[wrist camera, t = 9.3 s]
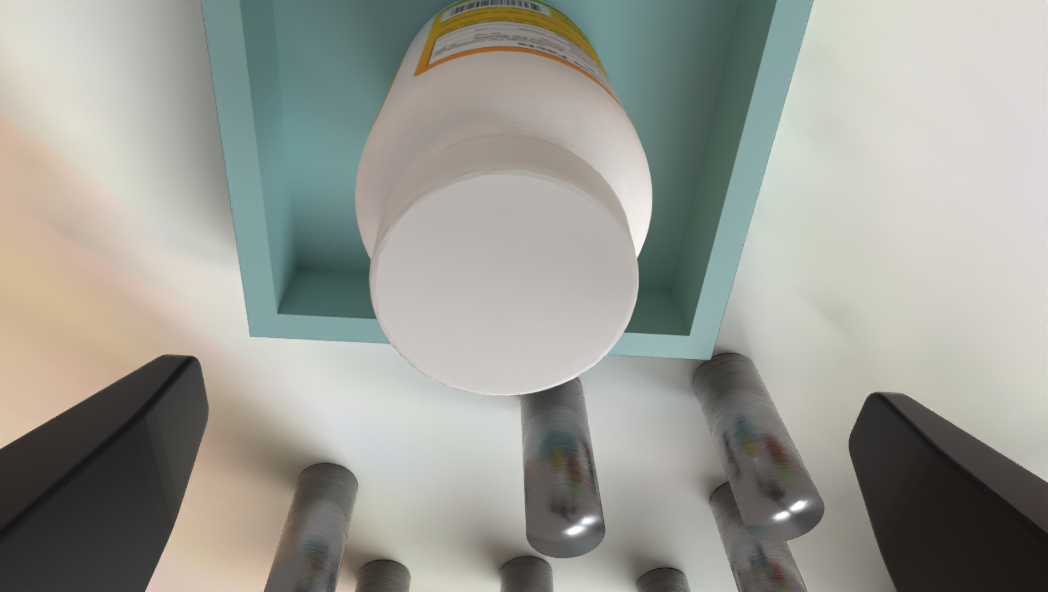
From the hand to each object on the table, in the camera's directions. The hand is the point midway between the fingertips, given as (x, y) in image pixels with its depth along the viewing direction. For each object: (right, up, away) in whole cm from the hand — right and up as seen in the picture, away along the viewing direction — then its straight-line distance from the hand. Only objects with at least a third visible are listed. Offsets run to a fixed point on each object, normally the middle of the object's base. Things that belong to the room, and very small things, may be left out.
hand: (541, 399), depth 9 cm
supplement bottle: (-1, +7, +9) cm, 11 cm away
